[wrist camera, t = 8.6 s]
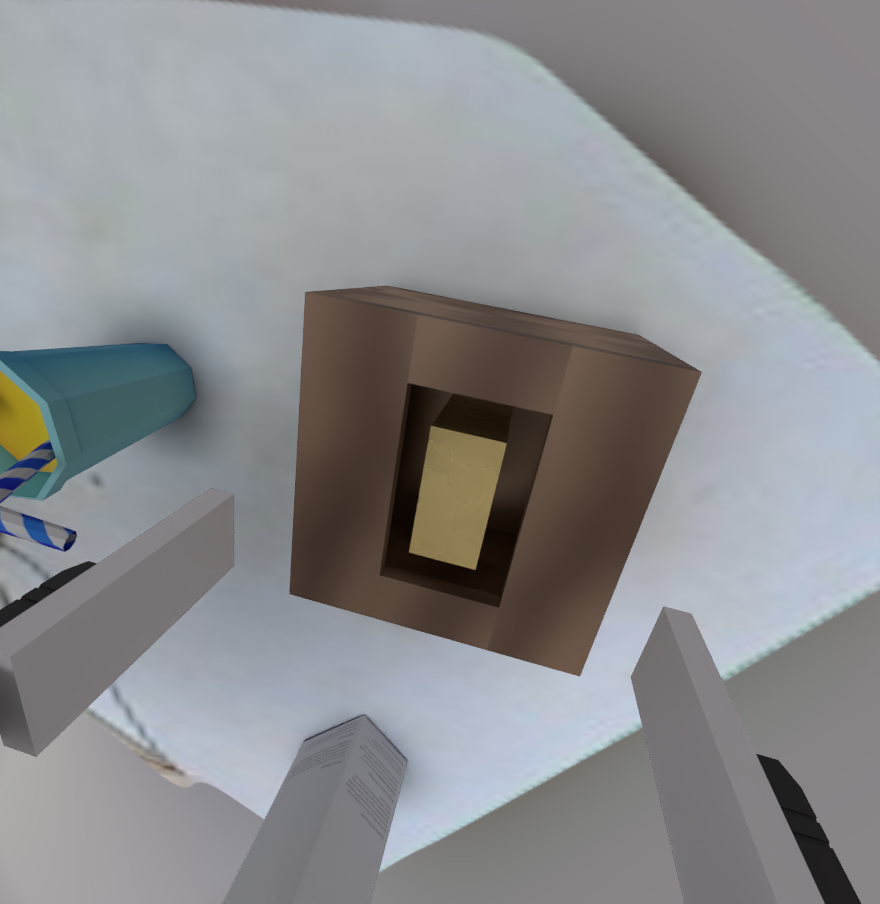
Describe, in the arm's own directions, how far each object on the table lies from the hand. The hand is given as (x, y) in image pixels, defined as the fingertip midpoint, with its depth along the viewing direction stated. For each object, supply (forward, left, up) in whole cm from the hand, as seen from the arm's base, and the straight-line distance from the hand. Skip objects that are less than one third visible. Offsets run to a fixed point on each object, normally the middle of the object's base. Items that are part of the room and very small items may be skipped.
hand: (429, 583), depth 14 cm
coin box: (0, 0, -15) cm, 15 cm away
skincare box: (-5, -32, -15) cm, 36 cm away
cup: (-21, -2, -15) cm, 26 cm away
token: (0, 0, -14) cm, 14 cm away
